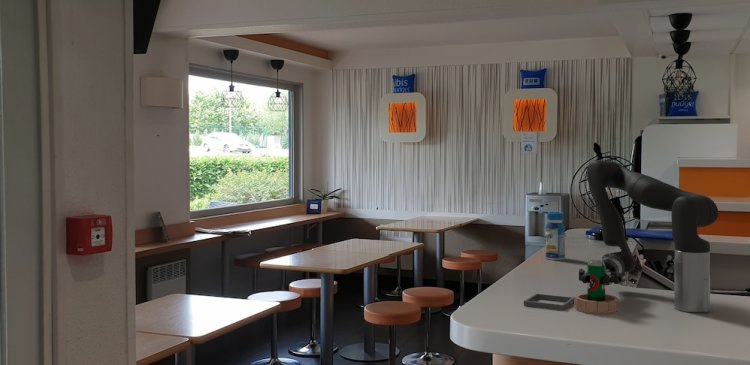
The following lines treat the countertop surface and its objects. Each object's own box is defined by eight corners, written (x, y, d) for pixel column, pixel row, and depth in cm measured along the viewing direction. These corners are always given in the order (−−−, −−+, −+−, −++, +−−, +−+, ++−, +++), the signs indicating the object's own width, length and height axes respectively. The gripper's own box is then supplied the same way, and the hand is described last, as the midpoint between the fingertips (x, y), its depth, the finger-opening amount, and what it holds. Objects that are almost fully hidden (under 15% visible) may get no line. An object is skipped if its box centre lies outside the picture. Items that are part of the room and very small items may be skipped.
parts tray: (574, 302, 205) (574, 297, 205) (563, 310, 195) (563, 305, 195) (536, 298, 212) (536, 293, 211) (523, 305, 201) (523, 300, 201)
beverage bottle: (567, 260, 284) (567, 213, 283) (547, 260, 284) (547, 213, 283) (562, 257, 292) (562, 211, 291) (543, 257, 292) (543, 211, 292)
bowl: (621, 307, 198) (622, 295, 198) (613, 316, 188) (613, 303, 188) (580, 303, 204) (581, 291, 204) (570, 311, 194) (570, 299, 194)
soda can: (606, 303, 193) (606, 262, 192) (588, 303, 194) (588, 262, 194) (604, 299, 198) (604, 259, 197) (586, 299, 199) (586, 259, 198)
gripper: (583, 257, 211) (569, 266, 197) (631, 260, 204) (620, 270, 190) (583, 280, 212) (569, 291, 197) (631, 285, 204) (619, 296, 190)
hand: (594, 280), depth 194 cm, fingers closed on soda can, 5 cm apart
